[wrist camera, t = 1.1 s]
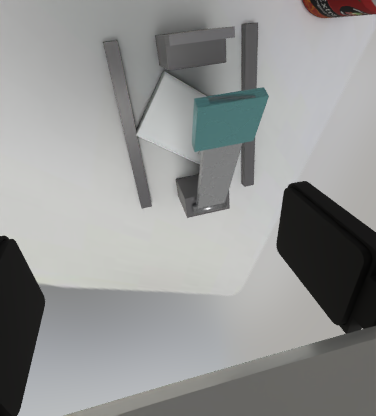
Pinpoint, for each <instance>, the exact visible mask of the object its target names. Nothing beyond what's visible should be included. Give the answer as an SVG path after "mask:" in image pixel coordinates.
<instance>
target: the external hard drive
mask: <svg viewBox="0 0 376 416" xmlns="http://www.w3.org/2000/svg"><path fill="white" fill-rule="evenodd" d="M201 97H207V96H206V95H204V94H202V93H200V92H199V91H197V90H195V89H194V88H192V87H190V86H189V85H187V84H185V83H184V82H182V81H180V80H179V79H177V78H175V77H174V76H172V75H170V74H169V73H167V72H165V71H163V73H162V75H161V77H160V79H159V82H158V84H157V86H156V88H155V90H154V92H153V95H152V97H151V99H150V101H149V103H148V106H147V108H146V110H145V112H144V114H143V117H142V119H141V121H140V123H139V125H138V127H137V130H136V136H138V137H140V138H142V139H145V140H147V141H149V142H151V143H153V144H156V145H158V146H160V147H162V148H164V149H166V150H169V151H171V152H173V153H175V154H177V155H180V156H182V157H184V158H186V159H188V160H190V161H193V162H195V163H197V164H199V165H200V161H201V152H202V151H198V152H194V149H193V146H192V127H193V109H194V99H195V98H201Z"/></svg>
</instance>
